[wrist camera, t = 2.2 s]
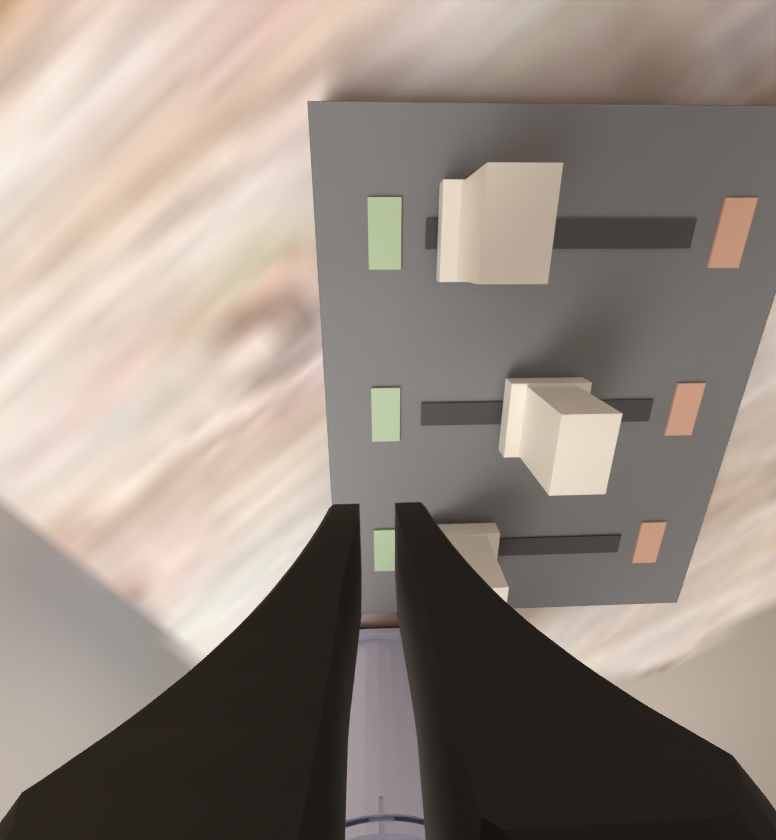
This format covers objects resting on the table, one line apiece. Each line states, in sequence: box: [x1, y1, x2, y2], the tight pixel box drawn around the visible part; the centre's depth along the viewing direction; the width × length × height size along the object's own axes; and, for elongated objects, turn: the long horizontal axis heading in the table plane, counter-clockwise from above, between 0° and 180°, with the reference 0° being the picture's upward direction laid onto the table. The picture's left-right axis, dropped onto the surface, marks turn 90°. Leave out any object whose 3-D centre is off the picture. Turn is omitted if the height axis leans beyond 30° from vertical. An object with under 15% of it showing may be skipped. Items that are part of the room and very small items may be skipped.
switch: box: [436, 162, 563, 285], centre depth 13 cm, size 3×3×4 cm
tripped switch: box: [499, 377, 622, 496], centre depth 16 cm, size 3×3×4 cm
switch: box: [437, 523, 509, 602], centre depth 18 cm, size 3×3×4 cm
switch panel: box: [308, 101, 776, 614], centre depth 19 cm, size 22×18×2 cm
